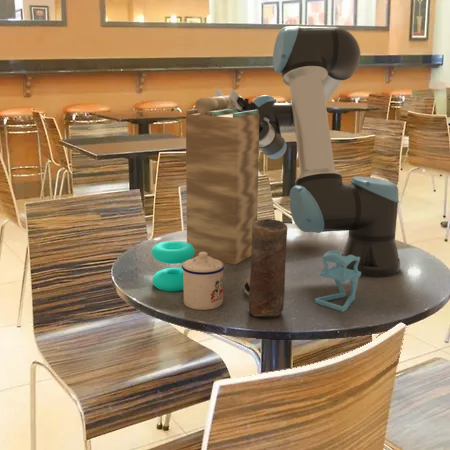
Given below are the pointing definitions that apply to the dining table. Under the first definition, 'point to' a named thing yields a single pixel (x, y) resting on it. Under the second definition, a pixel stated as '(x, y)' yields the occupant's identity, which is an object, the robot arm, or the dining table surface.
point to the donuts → (172, 255)
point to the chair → (339, 278)
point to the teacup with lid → (203, 282)
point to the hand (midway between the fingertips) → (223, 93)
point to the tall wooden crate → (222, 182)
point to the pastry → (247, 286)
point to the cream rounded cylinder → (214, 104)
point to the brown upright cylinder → (267, 268)
